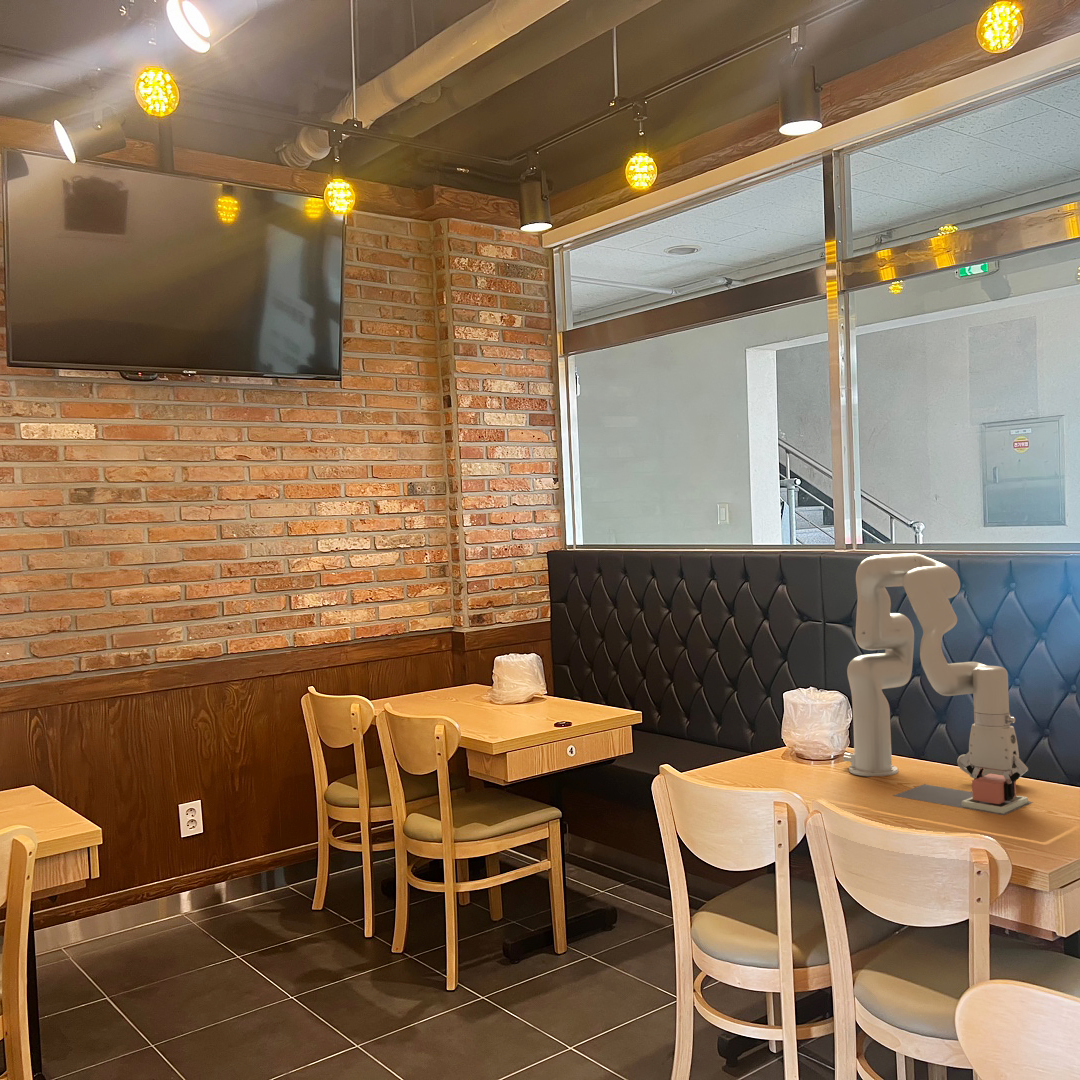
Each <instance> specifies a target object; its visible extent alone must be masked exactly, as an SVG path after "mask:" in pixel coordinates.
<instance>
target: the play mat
mask: <svg viewBox="0 0 1080 1080" xmlns="http://www.w3.org/2000/svg"><path fill="white" fill-rule="evenodd" d="M892 796H893V797H898V798H904V799H910V800H915V801H920V802H927V803H931V804H936V805H937V804H939V805H943V806H949V807H955V808H959V809H964V810H965V809H966V810H972V811H976V812H977V811H978V812H982V813H987V814H995V815H1000V816H1007V815H1008V814H1010V813H1012V812H1015V811H1018V810H1020V809H1022V808H1024V807H1026V806H1029V805H1030V804H1032V803H1033V804H1034V801H1029V800H1028V803H1026V804H1024V805H1022V806H1019V807H1017V808H1015V809H1013V810H1010V811H1008V812H1006V813H1004V814H1003V813H997V812H992V811H986V810H980V809H975V808H969V807H963V806H962V801H963V800H966V799H968V798H971V797H973V792H972V791H968V790H962V789H955V788H949V787H943V786H938V785H931V784H925V783H924V784H921V785H918V786H915V787H912V788H911V789H907V790H905V791H902V792H900V793H896V794H894V795H892ZM1011 802H1014V801H1010V800H1009V801H1005V802H1003V803H1000V804H994V803H988V802H982V801H978V802H976V803H981V804H987V805H993V806H999V807H1002V806H1005V805H1007V804H1009V803H1011Z"/></svg>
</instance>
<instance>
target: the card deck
mask: <svg viewBox="0 0 1080 1080" xmlns="http://www.w3.org/2000/svg"><path fill="white" fill-rule="evenodd" d="M1005 783H1006V780H1005V778H1004V775H997V774H987V775H985V776H982V777H980V778H977V779H974V778H973V779H972V780H971V786H972V791H971V792H973V800H976V801H982V802H988V803H994V804H1000V803H1003V802H1005V797H1004V784H1005ZM1014 787H1015V796H1014V797H1016V796H1017V781H1016V782H1014ZM1014 797H1013V798H1014Z"/></svg>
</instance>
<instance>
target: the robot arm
mask: <svg viewBox="0 0 1080 1080" xmlns="http://www.w3.org/2000/svg"><path fill="white" fill-rule="evenodd" d="M855 585H856V592H857V593H856V594H857V600H856V601H857V604H856V621H855V641H856V644H857V646H859V648H861V649H863V650H864V651H865V650H867V651H880V650H885V651H884V652H882V653H878V652H877V653H870V654H862V655H858V656H856V657H854V658H852V659H851V660H850V662H849V663H848V665H847V669H846V672H847V673H846V674H847V681H848V683H849V688H850V692H851V702H852V703H851V704H852V705H851V706H852V720H853V721H852V723H853V726H852V727H853V750H854V751H853V753H851V752H844V753H843V756H842V760H843V761H844V762H850V765H849V767H848V772H850V773H851V774H852V775H856V776H860V777H869V778H871V777H886V776H893V775H897V774H898V773H899V768H898V767H897V766H896V765H893V762H892V760H893V759H892V735H891V733H892V732H891V710H890V703H889V701H888V699H887V697H886V695H885V694H884V692H883V690H886V689H894V688H900V687H903V686H905V685H906V684H908V683H909V681H910V680H911V677H912V673H913V672H912V671H913V663H914V662H913V660H914V659H913V658H914V649H915V648H914V646H915V645H914V644H915V631H914V626H913V624H912V622H911V620H910V619H909V617H907V616H906V615H905V614H903V613H898V612H891V607H892V602H891V596H890V593H889V592H888V590H887V588H889V587H890V588H892V587H903V589H904V591H905V593H906V595H907V598H908V600H909V603H910V605H911V607H912V609H913V611H914V614H915V616H916V618H917V620H918V622H919V624H920V626H921V629H922V632H923V633H922V636H921V640H920V645H919V647H920V648H919V658H920V659H919V660H920V663H921V667H922V669H923V672H924V673H925V676H926V678H927V680H928V682H929V683H930V685H931V687H932V688H933V690H934V691H935V692H936V693H938V694H939V695H941V696H944V697H945V696H946V697H952V696H960V695H970V694H971V695H972V694H973V697H972V698H973V719H974V722H973V723H972V724H971V728H970V733H969V742H968V751H967V752H966V755H965V756H964V757H963V758H962V759H961V760H960V762H961V763H962V765H963V766H964V767H965V768H966V769H967V770H968V771H969V773H970V774H971V775H972V778H971V779H973V780H974V779H977V778H980V777H982V774H983V771H984V768H985V769H992V770H999V771H1002V773H1003V775H1004V778H1005V780H1006V783H1005V784H1004V797H1005V801H1009V800H1012V799H1013V797H1014V796H1015V787H1014V782H1016V783H1017V780H1019V778H1021V777H1022V776H1023V775H1024V774H1026V772H1028V771H1029V767H1028V766H1027V765H1026V764H1025V763H1024V761H1022V759H1021V758H1020V753H1019V745H1018V740H1017V733H1016V730H1015V727H1014V726H1013V725H1011V724H1015V722H1016V717H1014V716H1012V715H1011V713H1010V700H1009V699H1010V696H1009V674H1008V673H1009V672H1008V670H1007V669H1006V668H1005V667H1004V666H999V665H987V664H983V663H982V662H977V661H965V662H953V663H948V661H947V659H946V657H945V655H944V651H943V649H942V638H943V636H944V634H947V633H948V632H949V631H951V630H952V629H954V627H955V626H956V625H957V622H958V616H957V614H956V613H955V610H954V608H953V606H952V604H951V602H950V599H953V598H954V597H955V596H957V595H958V594H959V591H961V590H960V589H961V581H960V578H959V576H958V574H957V572H956V571H955V570H954V569H953V568H952V567H950V566H949V565H947V564H945V563H942V562H940V561H937V560H935V559H933V558H930V557H928V556H926V555H923V554H919V553H889V554H887V553H886V554H879V555H878V554H877V555H872V556H869V557H866V558H865V559H863V560H862V561H861V562H860V564H858V566H857V569H856V573H855ZM1017 767H1018V771H1017V772H1015V773H1014V772H1013V769H1012V768H1017Z"/></svg>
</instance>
